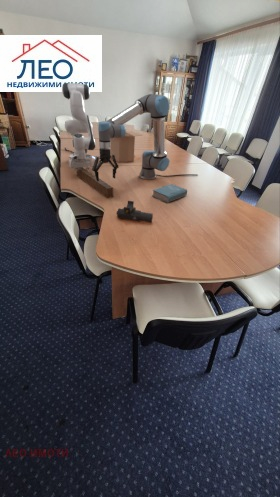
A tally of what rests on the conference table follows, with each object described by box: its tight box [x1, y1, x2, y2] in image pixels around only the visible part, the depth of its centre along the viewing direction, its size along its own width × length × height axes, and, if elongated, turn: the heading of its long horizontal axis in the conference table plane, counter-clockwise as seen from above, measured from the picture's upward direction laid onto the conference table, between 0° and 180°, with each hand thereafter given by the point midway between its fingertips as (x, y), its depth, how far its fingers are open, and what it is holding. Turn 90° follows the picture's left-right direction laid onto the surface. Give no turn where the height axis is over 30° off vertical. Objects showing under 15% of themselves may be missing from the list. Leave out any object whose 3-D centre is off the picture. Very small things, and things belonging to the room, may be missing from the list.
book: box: [152, 183, 188, 204], centre depth 172 cm, size 23×16×5 cm
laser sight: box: [116, 200, 154, 223], centre depth 136 cm, size 10×22×10 cm, turn 78°
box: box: [110, 130, 143, 163], centre depth 244 cm, size 44×36×27 cm
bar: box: [76, 167, 114, 199], centre depth 180 cm, size 56×5×7 cm, turn 36°
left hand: (81, 172), depth 193 cm, fingers open, 8 cm apart
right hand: (105, 179), depth 161 cm, fingers open, 13 cm apart
